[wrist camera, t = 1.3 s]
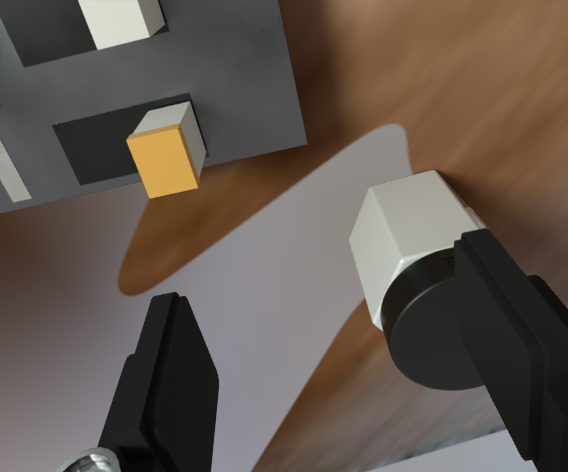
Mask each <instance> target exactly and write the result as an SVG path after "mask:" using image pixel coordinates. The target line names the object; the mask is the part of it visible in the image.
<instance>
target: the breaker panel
mask: <svg viewBox="0 0 568 472" xmlns="http://www.w3.org/2000/svg"><path fill="white" fill-rule="evenodd" d="M158 3H159V6H160V9H161V12H162V16H163V19H164V22H165V25H164V26H162V27H161V28H160V29H159V30H158V31H156V32H155V33H154V34H153V35H152V36H150V37H148V38H144V39H140V40H136V41H132V42H128V43H124V44H120V45H116V46H112V47H108V48H104V49H100V50H98V49H97V47H96V44H95V42H94V39H93V37H92V34H91V32H90V29H89V27H88V24H87V22H86V19H85V17H84V14H83V12H82V9H81V6H80V4H79V1H78V0H0V213H3V212H8V211H12V210H16V209H21V208H26V207H30V206H35V205H39V204H44V203H48V202H52V201H57V200H61V199H66V198H70V197H75V196H79V195H84V194H88V193H93V192H97V191H101V190H106V189H110V188H115V187H119V186H124V185H128V184H133V183H137V182H141V181H142V178H141V176H140V173H139V171H138V168H137V166H136V163H135V161H134V159H133V156H132V154H131V151H130V149H129V146H128V144H127V141H126V140H127V138H128V137H129V136H130V135H131V134H133V132H134V131H135V130H136V128H137V127H138V125H139V124H140V122H141V121H142V119H143V118H144V116H145V115H146V113H147V112H148V111H151V110H155V109H159V108H164V107H168V106H172V105H176V104H181V103H185V102H189V101H190V103H191V106H192V109H193V112H194V115H195V119H196V122H197V125H198V128H199V131H200V134H201V137H202V140H203V143H204V147H205V150H206V155H205V158H204V162H203V166H202V168H204V167H208V166H213V165H217V164H222V163H226V162H230V161H235V160H239V159H244V158H248V157H253V156H257V155H262V154H266V153H271V152H275V151H279V150H284V149H288V148H293V147H297V146H302V145H306V144H308V143H307V138H306V133H305V128H304V124H303V119H302V114H301V109H300V104H299V100H298V95H297V90H296V85H295V80H294V75H293V71H292V66H291V61H290V56H289V51H288V46H287V42H286V37H285V32H284V27H283V22H282V17H281V13H280V8H279V3H278V0H158Z"/></svg>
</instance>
